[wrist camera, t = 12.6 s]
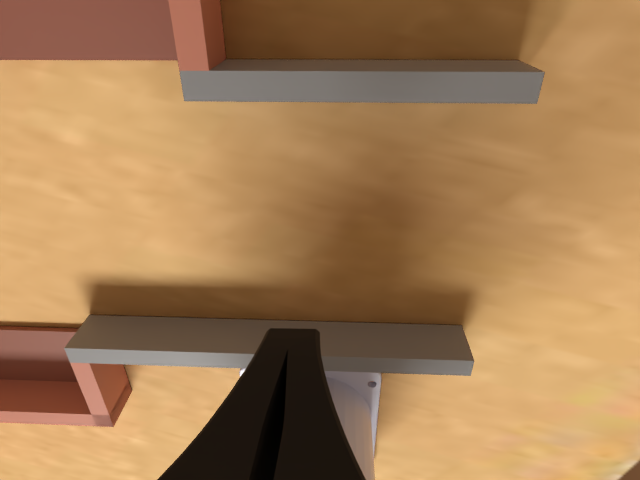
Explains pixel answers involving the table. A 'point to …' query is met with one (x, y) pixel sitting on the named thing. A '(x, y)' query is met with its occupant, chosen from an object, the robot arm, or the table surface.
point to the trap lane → (217, 85)
